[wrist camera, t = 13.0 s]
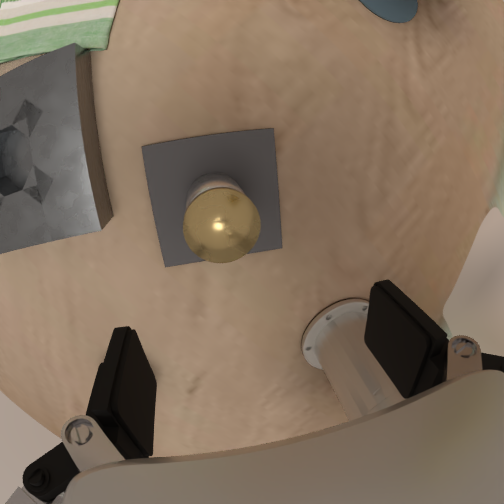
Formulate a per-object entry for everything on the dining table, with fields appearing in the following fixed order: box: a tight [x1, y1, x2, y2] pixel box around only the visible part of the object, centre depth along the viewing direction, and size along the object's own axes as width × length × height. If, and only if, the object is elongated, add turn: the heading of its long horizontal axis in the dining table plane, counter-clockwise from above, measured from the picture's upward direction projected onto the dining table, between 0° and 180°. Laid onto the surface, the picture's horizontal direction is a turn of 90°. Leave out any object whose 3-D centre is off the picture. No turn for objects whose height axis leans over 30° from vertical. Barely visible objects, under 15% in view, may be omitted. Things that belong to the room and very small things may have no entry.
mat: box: [142, 128, 282, 267], centre depth 30 cm, size 13×13×1 cm
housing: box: [0, 43, 113, 254], centre depth 22 cm, size 18×18×4 cm
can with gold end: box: [183, 172, 261, 263], centre depth 26 cm, size 6×6×8 cm
